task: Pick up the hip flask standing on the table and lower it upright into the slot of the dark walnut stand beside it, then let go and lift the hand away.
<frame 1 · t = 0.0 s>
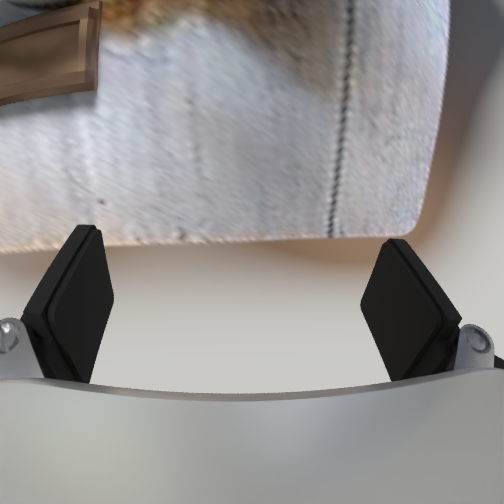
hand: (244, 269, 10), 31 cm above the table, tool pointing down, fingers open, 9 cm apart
walnut stand: (34, 56, 28), on the table
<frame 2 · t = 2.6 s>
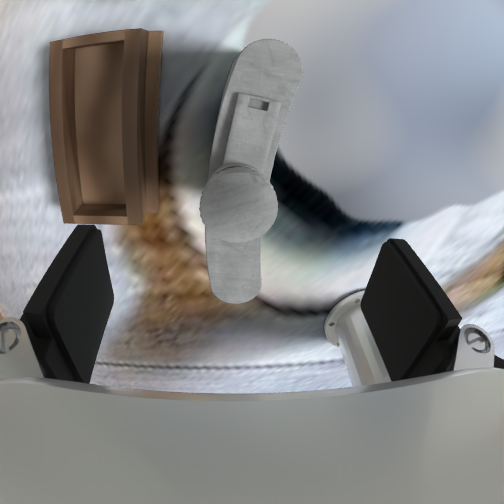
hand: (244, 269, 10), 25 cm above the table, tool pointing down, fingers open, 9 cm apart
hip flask: (235, 125, 31), on the table
walnut stand: (105, 125, 29), on the table
when the fingers open (9 cm above the table, at t = 12.2 s): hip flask drops 1 cm, resting on walnut stand.
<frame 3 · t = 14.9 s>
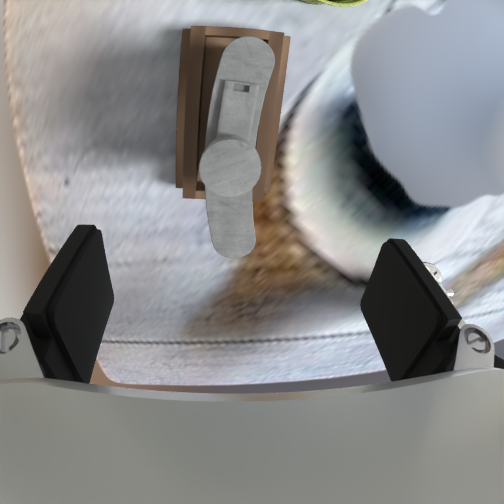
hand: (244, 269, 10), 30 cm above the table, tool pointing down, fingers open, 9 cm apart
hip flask: (229, 112, 34), point 1 cm above the table, touching walnut stand
walnut stand: (228, 110, 35), on the table
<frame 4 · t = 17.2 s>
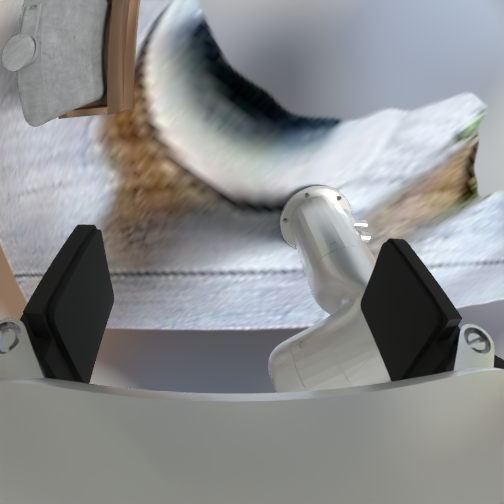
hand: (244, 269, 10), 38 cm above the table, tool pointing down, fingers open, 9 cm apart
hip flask: (96, 48, 34), point 1 cm above the table, touching walnut stand
walnut stand: (97, 47, 34), on the table
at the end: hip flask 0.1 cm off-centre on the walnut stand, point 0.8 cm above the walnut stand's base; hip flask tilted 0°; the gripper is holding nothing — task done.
